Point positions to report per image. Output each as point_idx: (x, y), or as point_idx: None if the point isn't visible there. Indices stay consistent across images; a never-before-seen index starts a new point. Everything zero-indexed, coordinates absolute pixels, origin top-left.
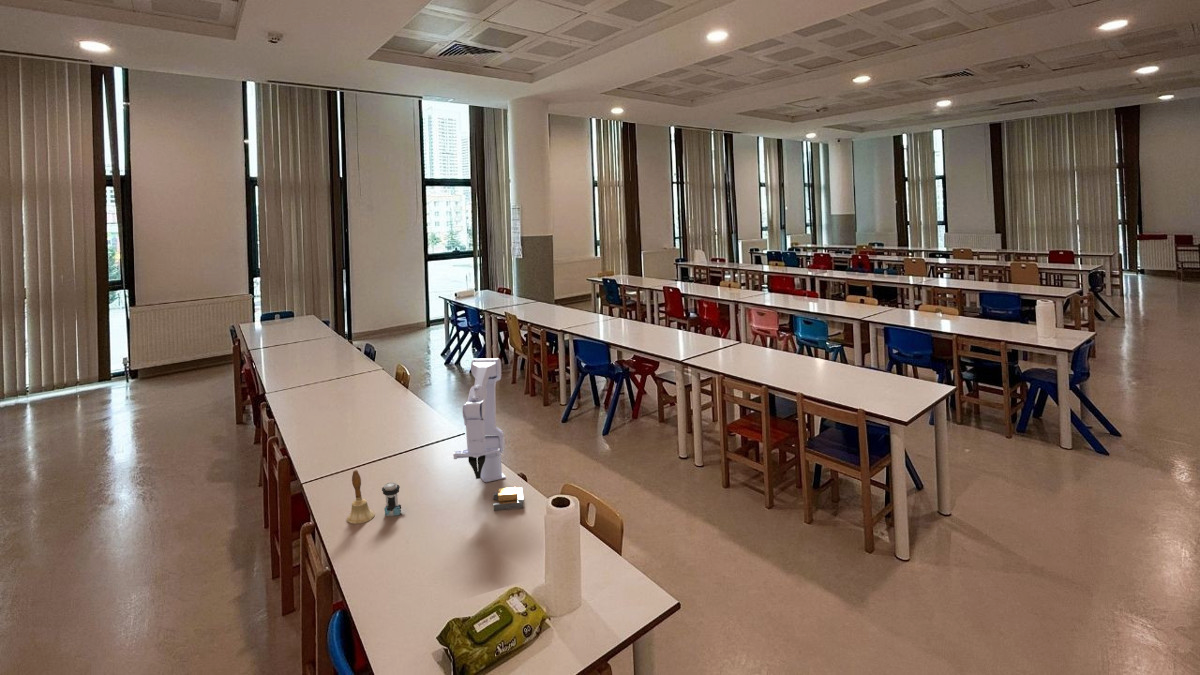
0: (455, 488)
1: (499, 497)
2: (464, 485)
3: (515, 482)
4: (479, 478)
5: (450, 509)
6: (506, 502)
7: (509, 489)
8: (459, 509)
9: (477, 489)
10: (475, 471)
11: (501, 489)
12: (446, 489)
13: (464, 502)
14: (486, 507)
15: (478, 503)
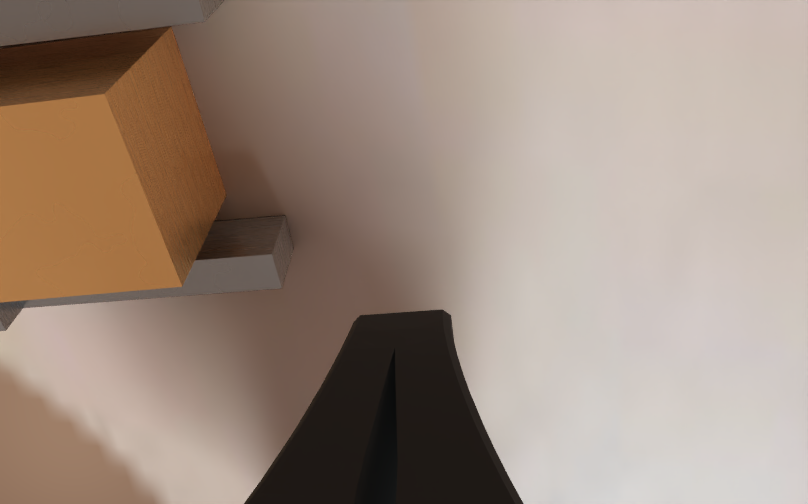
0: (700, 454)
1: (104, 81)
2: (616, 488)
3: (175, 487)
4: (370, 315)
5: (798, 40)
6: (26, 29)
7: (15, 253)
8: (680, 29)
9: (493, 421)
10: (445, 442)
11: (127, 263)
12: (786, 447)
13: (615, 198)
14: (335, 51)
15: (450, 160)
